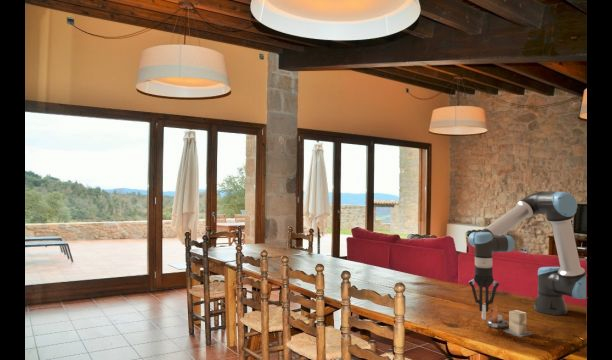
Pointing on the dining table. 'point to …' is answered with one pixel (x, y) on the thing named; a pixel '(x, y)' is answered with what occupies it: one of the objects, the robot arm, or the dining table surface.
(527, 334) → the pad
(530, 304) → the dining table surface
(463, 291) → the dining table surface
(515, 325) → the block
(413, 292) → the dining table surface
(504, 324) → the crank base
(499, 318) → the crank
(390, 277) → the dining table surface
